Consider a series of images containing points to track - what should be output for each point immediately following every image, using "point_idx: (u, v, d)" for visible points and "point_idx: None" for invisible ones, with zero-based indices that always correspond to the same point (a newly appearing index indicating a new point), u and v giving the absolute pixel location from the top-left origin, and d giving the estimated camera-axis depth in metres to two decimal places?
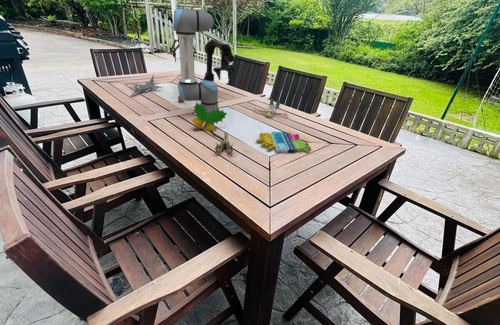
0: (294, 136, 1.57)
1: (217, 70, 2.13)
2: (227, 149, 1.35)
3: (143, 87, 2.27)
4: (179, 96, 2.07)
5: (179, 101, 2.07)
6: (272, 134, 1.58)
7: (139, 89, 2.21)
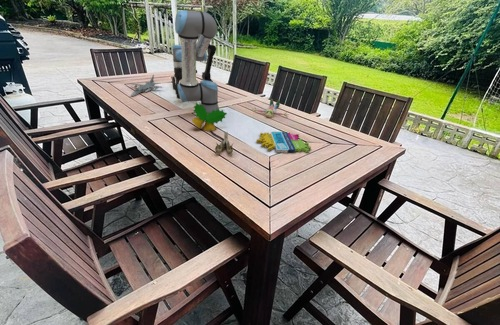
0: (294, 136, 1.57)
1: None
2: (227, 149, 1.35)
3: (143, 87, 2.27)
4: None
5: None
6: (272, 134, 1.58)
7: (139, 89, 2.21)
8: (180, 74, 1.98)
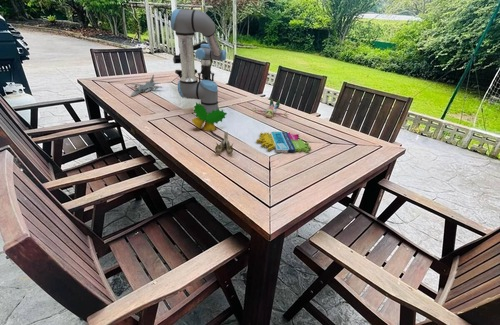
0: (294, 136, 1.57)
1: (178, 72, 2.24)
2: (227, 149, 1.35)
3: (143, 87, 2.27)
4: None
5: None
6: (272, 134, 1.58)
7: (139, 89, 2.21)
8: (206, 71, 2.11)
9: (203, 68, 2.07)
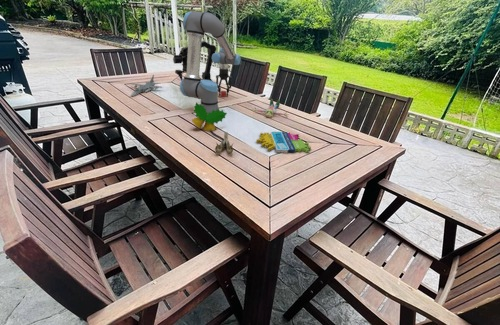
0: (294, 136, 1.57)
1: (178, 72, 2.24)
2: (227, 149, 1.35)
3: (143, 87, 2.27)
4: (222, 91, 2.30)
5: (221, 95, 2.31)
6: (272, 134, 1.58)
7: (139, 89, 2.21)
8: (223, 75, 2.21)
9: (220, 71, 2.19)
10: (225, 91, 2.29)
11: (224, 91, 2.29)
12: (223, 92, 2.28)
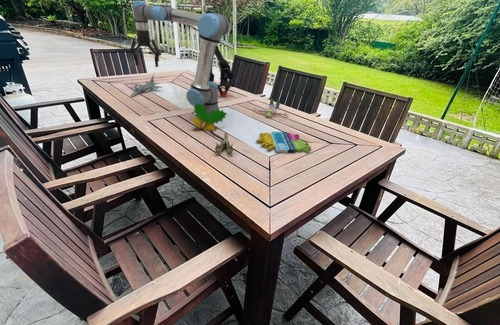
0: (294, 136, 1.57)
1: None
2: (227, 149, 1.35)
3: (143, 87, 2.27)
4: (222, 91, 2.30)
5: None
6: (272, 134, 1.58)
7: (139, 89, 2.21)
8: (143, 39, 1.64)
9: (137, 33, 1.61)
10: (225, 91, 2.29)
11: (224, 91, 2.29)
12: (223, 92, 2.28)
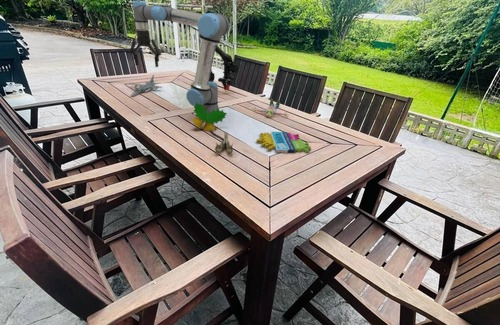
0: (294, 136, 1.57)
1: (223, 80, 2.25)
2: (227, 149, 1.35)
3: (143, 87, 2.27)
4: None
5: None
6: (272, 134, 1.58)
7: (139, 89, 2.21)
8: (143, 39, 1.64)
9: (137, 33, 1.61)
10: (228, 84, 2.35)
11: (227, 84, 2.35)
12: (227, 85, 2.34)
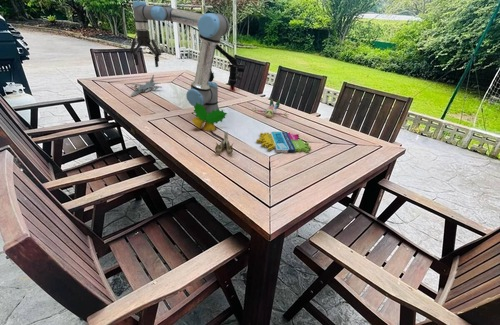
0: (294, 136, 1.57)
1: None
2: (227, 149, 1.35)
3: (143, 87, 2.27)
4: None
5: (231, 89, 2.50)
6: (272, 134, 1.58)
7: (139, 89, 2.21)
8: (143, 39, 1.64)
9: (137, 33, 1.61)
10: None
11: None
12: (234, 86, 2.50)
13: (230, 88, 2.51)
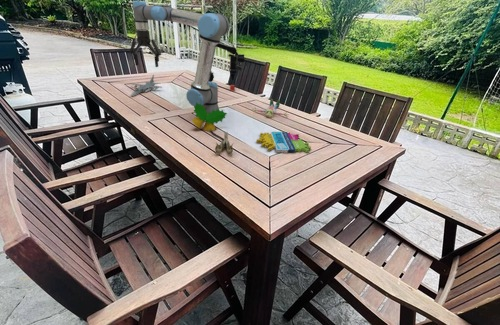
0: (294, 136, 1.57)
1: (236, 71, 2.36)
2: (227, 149, 1.35)
3: (143, 87, 2.27)
4: (231, 85, 2.50)
5: (231, 89, 2.50)
6: (272, 134, 1.58)
7: (139, 89, 2.21)
8: (143, 39, 1.64)
9: (137, 33, 1.61)
10: (233, 85, 2.52)
11: (233, 85, 2.51)
12: (234, 86, 2.50)
13: (230, 88, 2.51)
